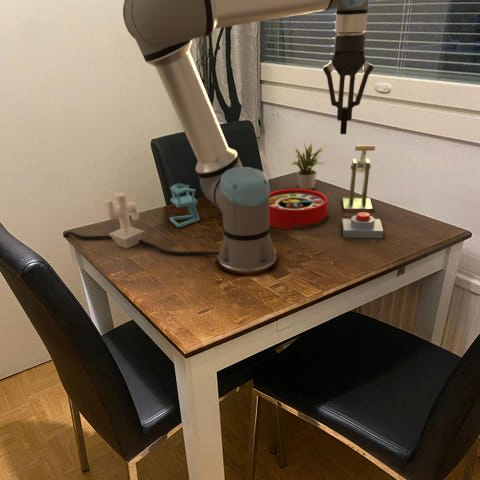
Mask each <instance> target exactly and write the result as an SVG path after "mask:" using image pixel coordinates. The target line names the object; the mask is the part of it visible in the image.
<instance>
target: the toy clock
mask: <svg viewBox="0 0 480 480" xmlns="http://www.w3.org/2000/svg"><path fill="white" fill-rule="evenodd" d="M327 215H328V197H327V196H326V195H325V194H323V193H322V192H320V191H316V190H312V189H302V188H287V189H278V190H275V191H270V195H269V226H271V227H274V228H278V229H284V230H294V227H295V226H297V227H298V226H299V227H300V226H307V225H313V224H316V223H319V222H321V221H323V220H325V218H326V217H327Z"/></svg>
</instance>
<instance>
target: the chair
mask: <svg viewBox="0 0 480 480" xmlns="http://www.w3.org/2000/svg"><path fill="white" fill-rule="evenodd" d="M169 189H170V192H171V195H172V197H171V198H170V202H171V203H172V204H174V205H175V206H176V208H182V207H186V208H187V209H188V211H189V213H190V214H189V215H180V216H179V215H178V216H169V221H170V222H171V223H172V224H173V225H174V226H175V227H177V228H178V229H180V228H183V227H185V226H188V225H190V224H193V223H196V222H199V221H200V215H199V212H198V211H197V207H196V206H197V204H198V200H197V199H196V198H195V193H196V189H193V188H190V185H189V184H184V183H181V182H180V183H178V182H177V183H175V184H173V185H172V186H170V187H169ZM184 193H185V194H186V195H183V196H181V195H182V194H184ZM190 193H192V194H191V195H190ZM180 220H181V221H183V220H186V221H184V222H181V223H178V221H180Z"/></svg>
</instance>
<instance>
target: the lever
mask: <svg viewBox="0 0 480 480" xmlns="http://www.w3.org/2000/svg"><path fill="white" fill-rule="evenodd" d="M354 150H355V151H356V152H359V151H361V154H360V159H359V160H357V161H356V162H357V165H356V173H364V170H365V160H366V155H367V152H368V151H373V152H374V151H375V150H376V145H373V144H369V145H368V144H367V145H366V144H364V145H362V144H361V145H360V144H359V145H358V144H357V145H355V147H354Z"/></svg>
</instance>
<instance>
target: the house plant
mask: <svg viewBox="0 0 480 480" xmlns="http://www.w3.org/2000/svg"><path fill="white" fill-rule="evenodd" d="M303 144H304V148H305V152H303V153H302V154H301V153H300V150H299V149H298V148H296V147H295V146H293V145H292V146H291V147H292V148H293V149H294V151H295V152H294V151H292V154H293V155H295V157H296V158H297V159H298V160H297V161H293V162H291V165H296V166H297V167H298V168H299V170H298V171H296V177H297V187H298V189H307V190H312V189H314V187H315V185H316V178H317V171H316V170H315V169H313V167H315V166H316V165H318V164H319V165H321V164H322V165H323V166H325V163H327V162H325V161H323V162H319V159H320V158H321V154H320V153H321V152H323V151H325V149H324V148H326V147H327V146H326V145H325V146H322V147H320V148H319V149H318V150H316V152H314V153H312V152H313V144H312V143H310V144H309V146H308V148H307V146H306V143H303ZM319 165H318V166H319Z"/></svg>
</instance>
